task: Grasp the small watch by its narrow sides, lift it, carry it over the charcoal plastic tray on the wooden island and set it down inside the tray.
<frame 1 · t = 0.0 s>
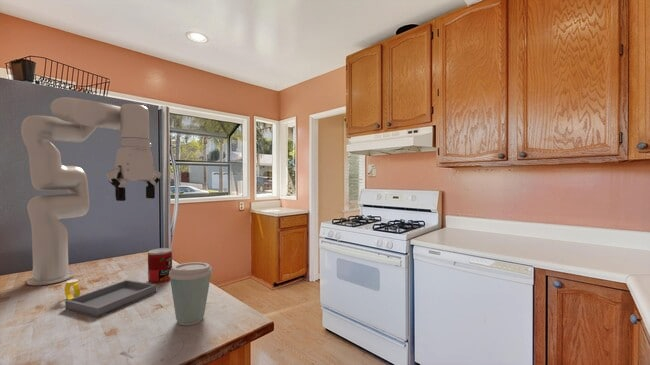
hand: (136, 199, 91), 31 cm above the table, tool pointing down, fingers open, 9 cm apart
watch: (72, 300, 90), on the table
canned food: (160, 280, 107), on the table
tray: (114, 300, 90), on the table
disposable coffee cup: (191, 320, 78), on the table
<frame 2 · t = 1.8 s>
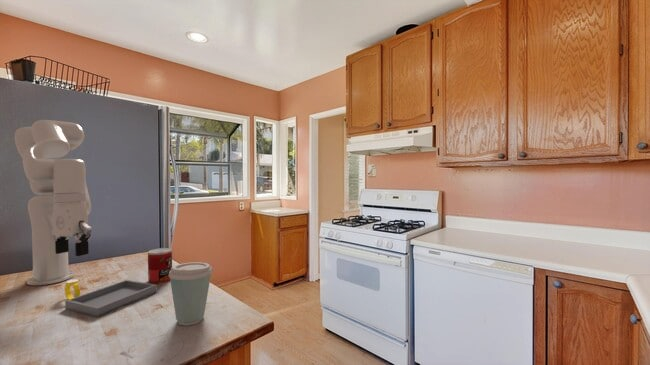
hand: (72, 253, 90), 14 cm above the table, tool pointing down, fingers open, 9 cm apart
nothing on the table moved.
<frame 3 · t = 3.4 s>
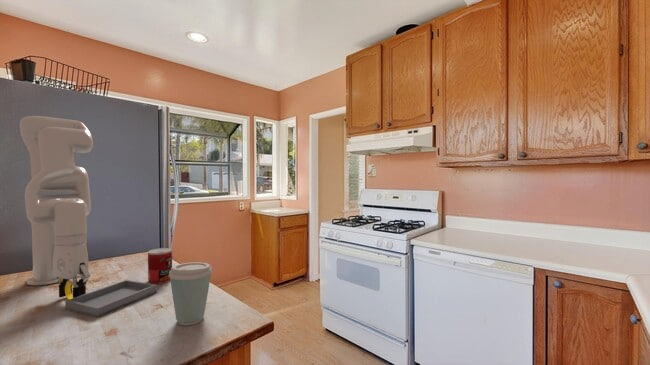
hand: (72, 296, 90), 1 cm above the table, tool pointing down, fingers closed on watch, 6 cm apart
watch: (72, 299, 90), on the table, touching gripper
everything else where it was.
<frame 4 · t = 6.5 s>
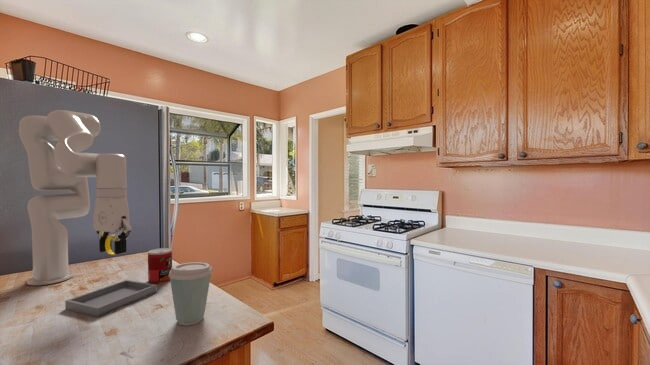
hand: (113, 251, 89), 15 cm above the table, tool pointing down, fingers closed on watch, 6 cm apart
watch: (113, 254, 89), point 14 cm above the table, touching gripper
everything else where it was.
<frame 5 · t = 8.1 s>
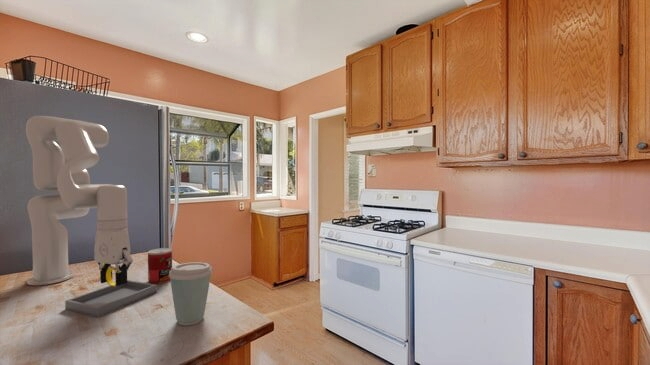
hand: (114, 282, 89), 6 cm above the table, tool pointing down, fingers closed on watch, 6 cm apart
watch: (114, 285, 89), point 5 cm above the table, touching gripper
everything else where it was.
when the fingers open (3 cm above the table, at t = 9.5 s): watch drops 2 cm, resting on tray.
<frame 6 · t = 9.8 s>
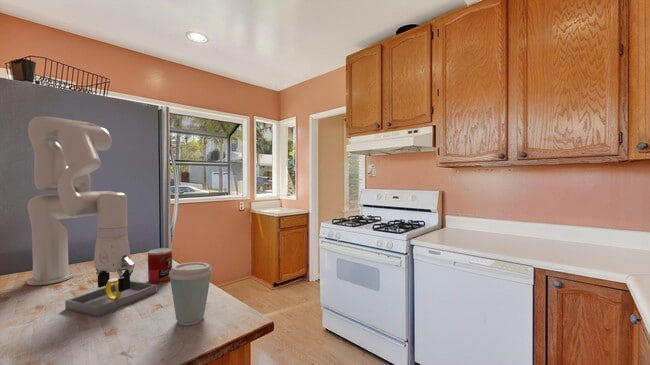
hand: (113, 288, 89), 4 cm above the table, tool pointing down, fingers open, 8 cm apart
watch: (113, 298, 90), resting on tray
everything else where it was.
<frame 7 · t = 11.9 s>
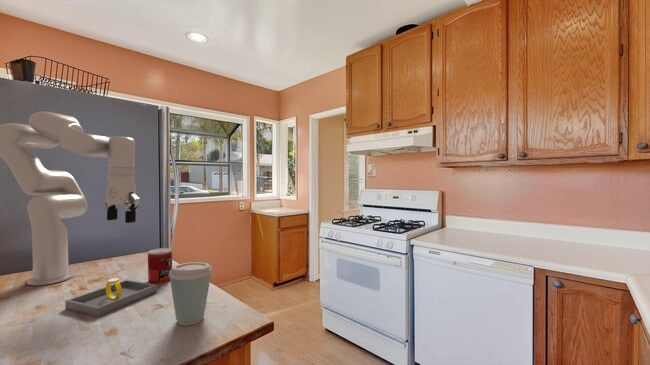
hand: (121, 221, 102), 23 cm above the table, tool pointing down, fingers open, 9 cm apart
nothing on the table moved.
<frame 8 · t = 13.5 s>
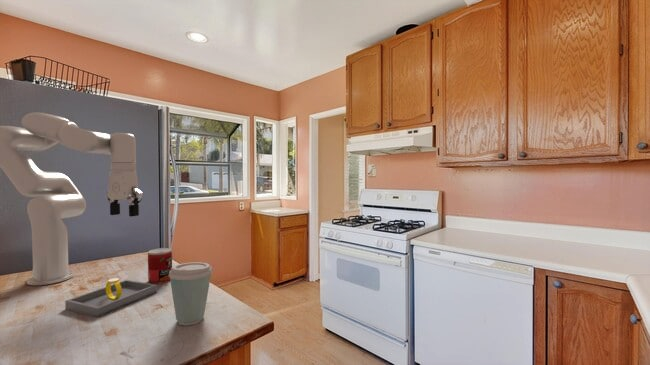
hand: (124, 215, 104), 24 cm above the table, tool pointing down, fingers open, 9 cm apart
nothing on the table moved.
at the end: watch inside the target area on the tray (0.1 cm from its centre), point 0.4 cm above the tray's base; watch tilted 0°; the gripper is holding nothing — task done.
